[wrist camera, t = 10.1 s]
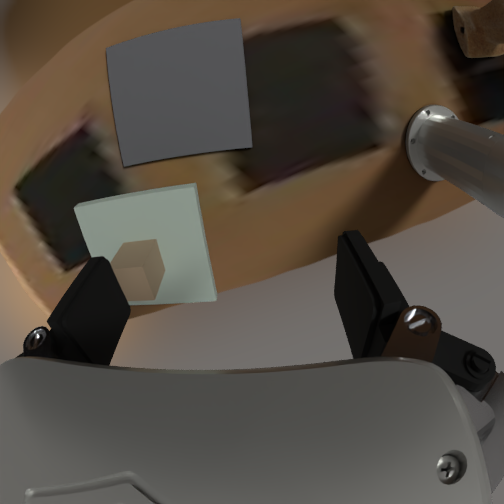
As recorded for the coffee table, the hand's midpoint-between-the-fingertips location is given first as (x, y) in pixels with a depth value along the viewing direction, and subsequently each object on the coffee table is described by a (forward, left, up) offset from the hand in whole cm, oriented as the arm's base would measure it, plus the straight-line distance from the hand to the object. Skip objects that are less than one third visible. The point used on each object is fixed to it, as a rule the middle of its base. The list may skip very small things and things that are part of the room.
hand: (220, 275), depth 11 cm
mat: (+7, -8, -28) cm, 30 cm away
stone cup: (-42, -24, -28) cm, 56 cm away
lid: (+11, +8, -17) cm, 22 cm away
